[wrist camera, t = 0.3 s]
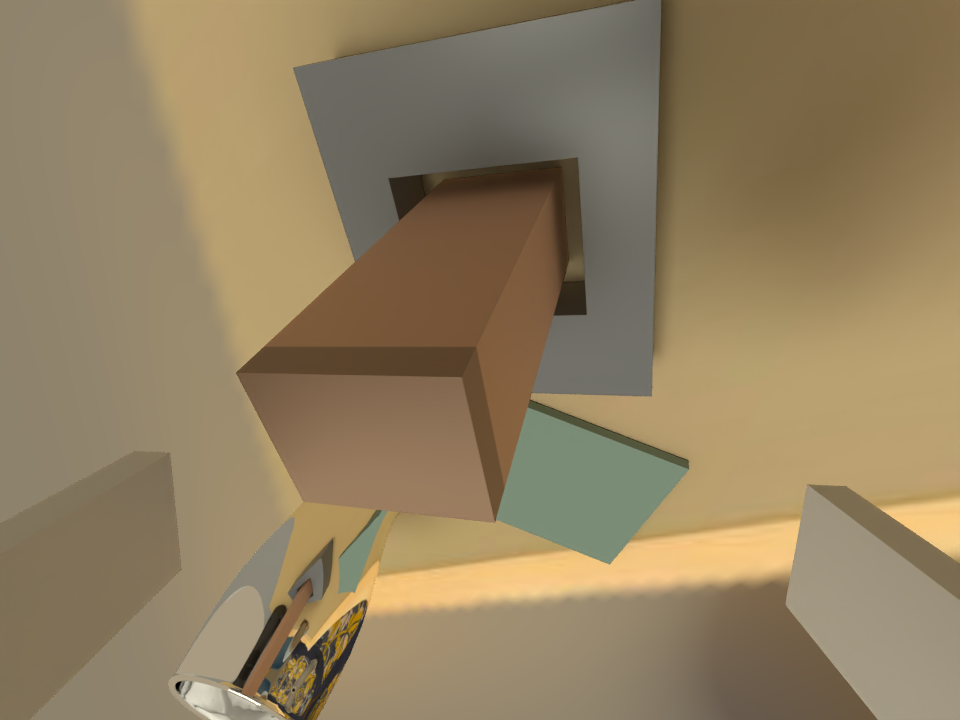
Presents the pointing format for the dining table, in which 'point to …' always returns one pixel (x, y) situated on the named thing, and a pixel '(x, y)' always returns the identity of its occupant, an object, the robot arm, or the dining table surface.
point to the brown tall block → (422, 353)
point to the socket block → (518, 158)
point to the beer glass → (287, 619)
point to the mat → (584, 483)
